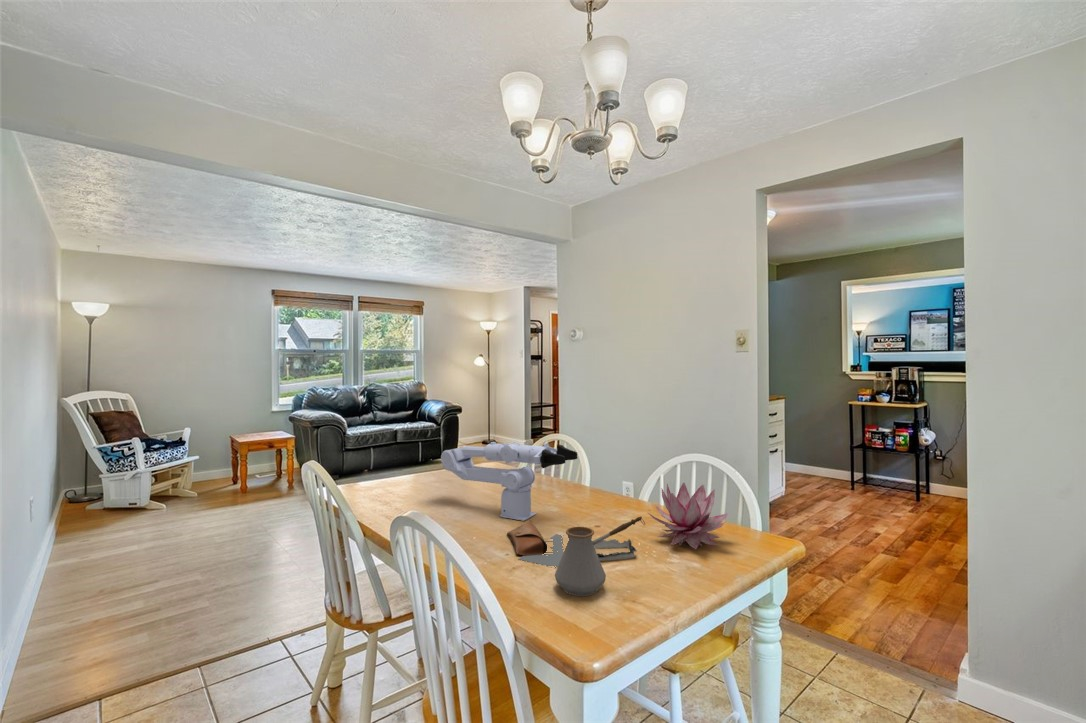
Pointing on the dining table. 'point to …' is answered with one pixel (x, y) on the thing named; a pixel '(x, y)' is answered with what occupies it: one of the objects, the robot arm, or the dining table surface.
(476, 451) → the robot arm
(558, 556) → the rubber mat
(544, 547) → the sunglasses case
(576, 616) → the dining table surface
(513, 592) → the dining table surface
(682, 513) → the decorative flower
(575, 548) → the coffee pot
